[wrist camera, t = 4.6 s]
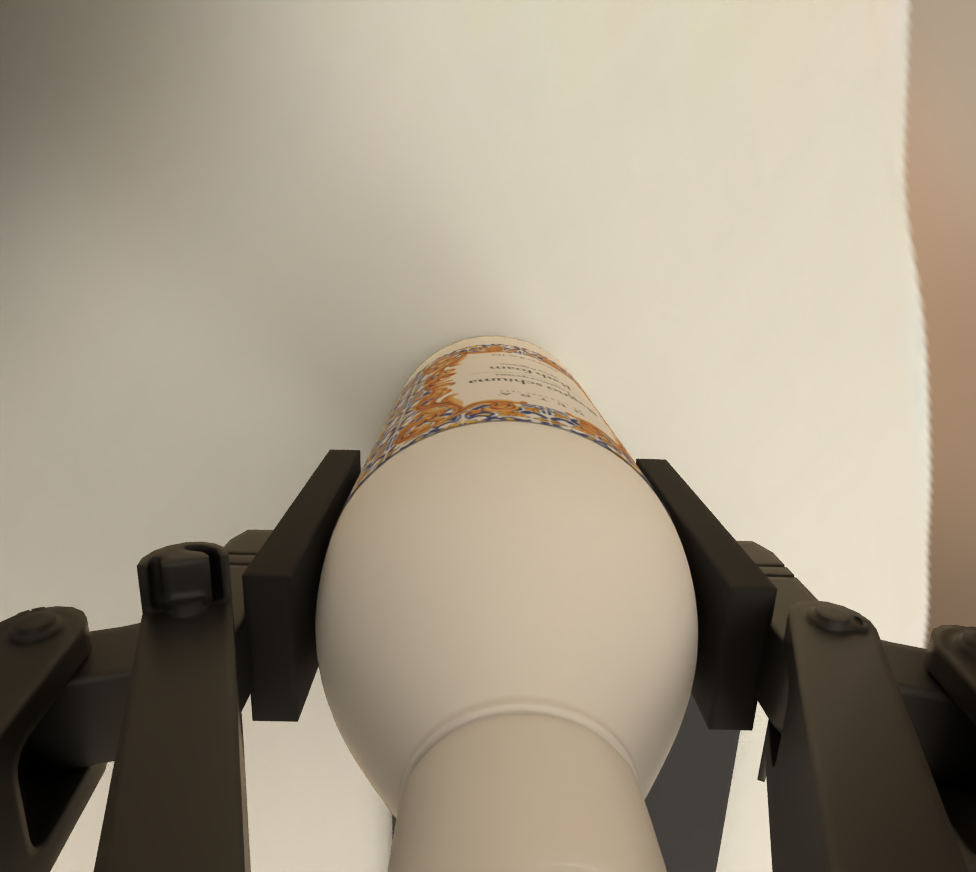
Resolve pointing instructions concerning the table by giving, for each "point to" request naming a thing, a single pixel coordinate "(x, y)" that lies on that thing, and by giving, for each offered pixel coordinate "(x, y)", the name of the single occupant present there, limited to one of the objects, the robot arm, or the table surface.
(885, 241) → the table surface
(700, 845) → the desk mat
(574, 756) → the bath foam
